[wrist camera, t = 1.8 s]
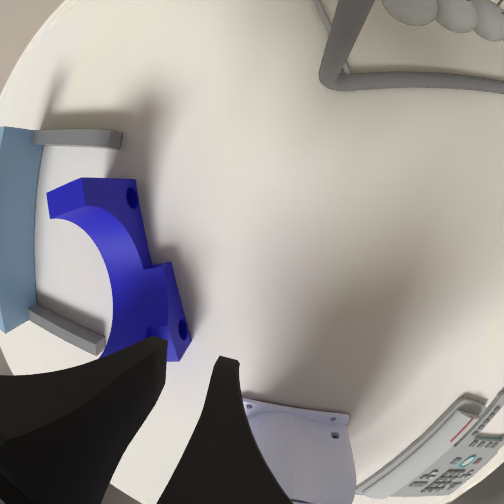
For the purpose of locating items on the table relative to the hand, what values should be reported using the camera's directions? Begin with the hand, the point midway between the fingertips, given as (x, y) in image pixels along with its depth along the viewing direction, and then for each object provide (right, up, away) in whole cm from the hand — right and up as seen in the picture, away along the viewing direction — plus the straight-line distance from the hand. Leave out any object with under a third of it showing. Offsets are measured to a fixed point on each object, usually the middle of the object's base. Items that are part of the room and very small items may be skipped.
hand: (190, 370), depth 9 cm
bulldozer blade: (-13, +5, +10) cm, 17 cm away
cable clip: (-5, +3, +10) cm, 12 cm away
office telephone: (+29, -21, +12) cm, 37 cm away
